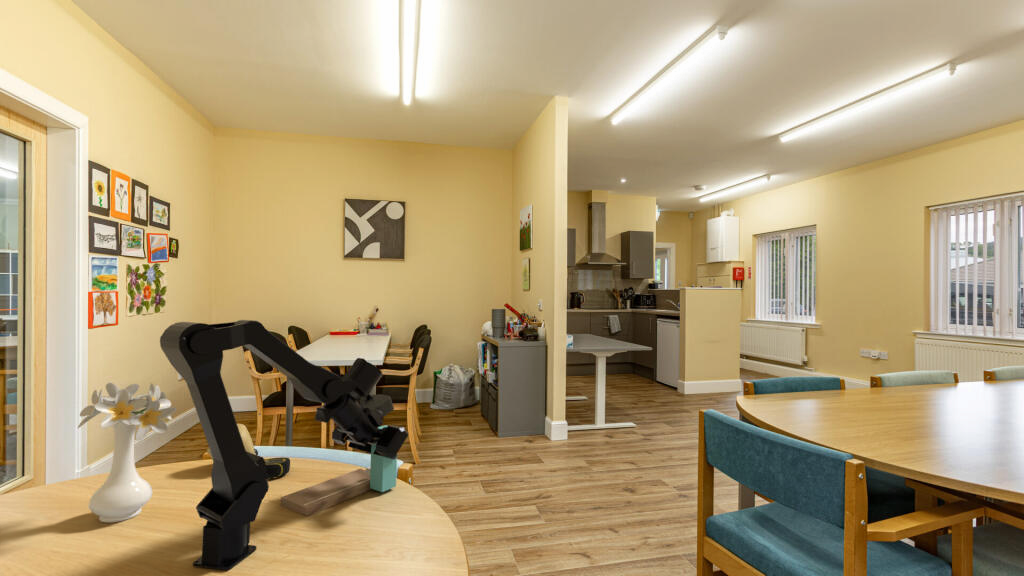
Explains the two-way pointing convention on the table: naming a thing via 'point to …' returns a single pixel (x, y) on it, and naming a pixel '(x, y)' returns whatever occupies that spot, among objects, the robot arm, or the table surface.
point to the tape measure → (277, 466)
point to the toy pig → (245, 439)
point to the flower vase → (126, 447)
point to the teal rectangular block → (381, 471)
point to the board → (327, 493)
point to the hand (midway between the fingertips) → (388, 455)
